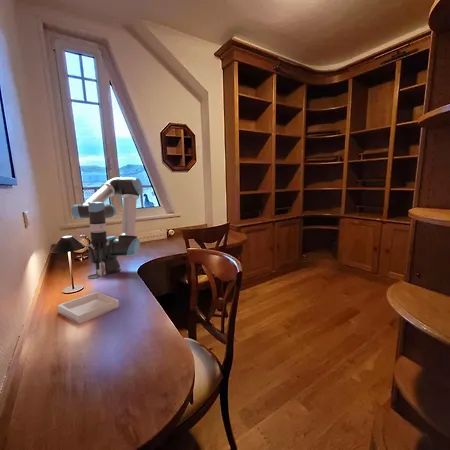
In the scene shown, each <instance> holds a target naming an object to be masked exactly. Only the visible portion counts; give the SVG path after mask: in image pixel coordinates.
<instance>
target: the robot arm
mask: <svg viewBox="0 0 450 450" xmlns="http://www.w3.org/2000/svg"><path fill="white" fill-rule="evenodd" d="M143 189H144V188H143V184H142V182H141V180H140V178H139V177H113V178H111V179H108V180H106V181H105V182H103V183H102V184H101V186H100V188H99V189H98V190H97V191H95V192H94V193H93V194H92V195H90V197H88V198H87V199H86V200H84V201H83V202H82V203H81V204H73V205H72V206H71V211H70V212H71V215H72V217H73V218H75V219H77V218H78V219H89V231H90V240H91V241H90V244H88V245H86V246H85V248H86V249H87V250H88V254H89V255H88V256H89V258H90V262H91V263H92V264H95V274H98V275H100V276H101V275H102V276H103V275H107V274H109V275H110V274H113V273H118V272H119V271H121V265H120V264H121V263H120V261H119V260H118V257H121V256H122V257H130V256H133V257H134V256H136V255H137V254H138V252H139V251H140V246H141V241H140V239H139V238H138V235H136V219H137V204H138V203H137V202H138V199H140V196H141V195H142V194H143ZM115 195H121V198H122V199H123V202H122V214H121V215H122V217H121V218H122V219H121V233H120V234H119V235H118V238H117V237H116V235H111V236H110V235H109V236H107V225H106V223H107V221H106V219H109V218H113V217H114V216H116V213H117V209H116V207H115V205H113V204H109V203H108V204H107V203H106V204H105V202H106V201H107V200H108V199H109V198H111V197H114V196H115ZM101 259H102V260H101ZM100 260H101V261H100ZM100 262H101V263H103V265H104V268H105V272H104V274H102V269H101V263H100ZM102 276H101V277H102Z"/></svg>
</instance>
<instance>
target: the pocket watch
mask: <svg viewBox="0 0 450 450" xmlns="http://www.w3.org/2000/svg"><path fill="white" fill-rule="evenodd" d="M101 260H102V259H101ZM101 260H100V261H101ZM100 263H101V262H100ZM101 269H102V275H101V276H100V275H98V273H94V274H90V275H87V279H88V280H97V279H101V278H102V276H103V275H105V274H104V272H105V268H104V265H103V263H101Z"/></svg>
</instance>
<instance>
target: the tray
mask: <svg viewBox="0 0 450 450" xmlns="http://www.w3.org/2000/svg"><path fill="white" fill-rule="evenodd" d="M118 308H120V300H119V299H116V298H114V297H112V296H109V295H106V294H104V293H101V292H99V291H95V292H92V293H90V294H87V295H84V296H81V297H77V298H75V299H70V300H68V301H65V302H63V303H60V304H57V310H58V311H57V312H58V313H59V314H60V315H62V316H64V317H65V318H67V319H69V320H71V321H73V322H74V323H76V324H78V325H80V324H82V323H85V322H89V321H90V320H92V319H95V318H97V317H100V316H102V315H104V314H107V313H109V312H112V311H113V310H117V309H118Z"/></svg>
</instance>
